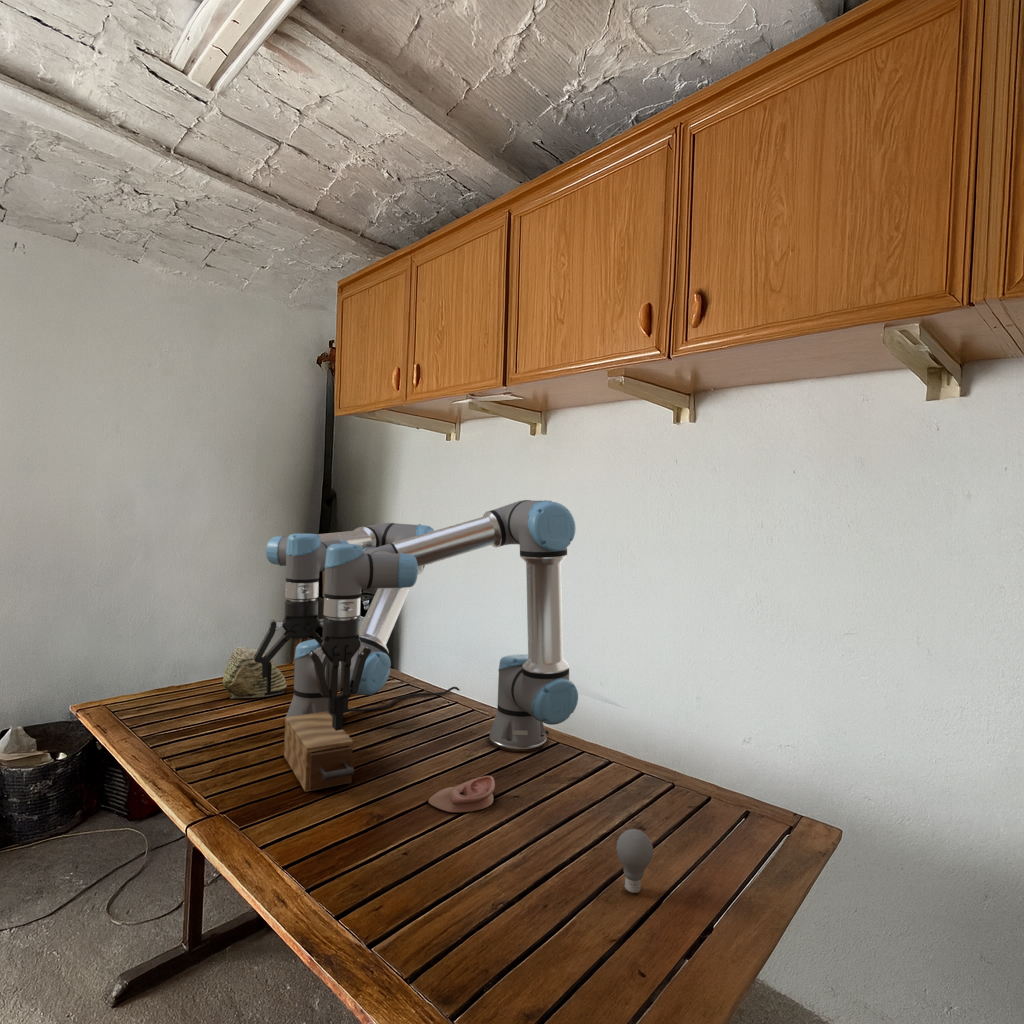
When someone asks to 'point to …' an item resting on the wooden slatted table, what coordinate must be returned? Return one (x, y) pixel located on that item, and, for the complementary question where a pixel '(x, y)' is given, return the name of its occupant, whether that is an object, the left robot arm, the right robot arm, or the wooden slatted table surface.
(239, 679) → the fossil
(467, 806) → the anatomical model
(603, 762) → the wooden slatted table surface
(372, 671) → the left robot arm
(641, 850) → the light bulb
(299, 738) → the cabinet
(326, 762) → the drawer
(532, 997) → the wooden slatted table surface
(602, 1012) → the wooden slatted table surface
